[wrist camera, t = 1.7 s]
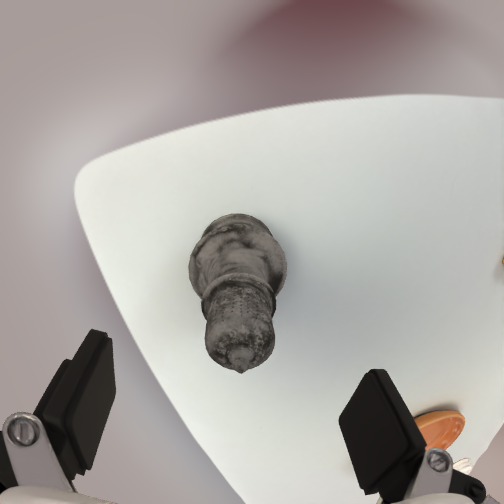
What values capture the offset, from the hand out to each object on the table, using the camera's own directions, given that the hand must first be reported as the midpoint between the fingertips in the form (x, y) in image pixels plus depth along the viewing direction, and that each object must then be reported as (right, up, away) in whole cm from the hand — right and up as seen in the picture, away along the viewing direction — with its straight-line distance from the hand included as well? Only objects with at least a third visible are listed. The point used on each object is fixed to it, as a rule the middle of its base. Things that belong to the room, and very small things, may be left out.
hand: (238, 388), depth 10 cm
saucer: (+24, -23, +24) cm, 41 cm away
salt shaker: (-1, +5, +12) cm, 13 cm away
